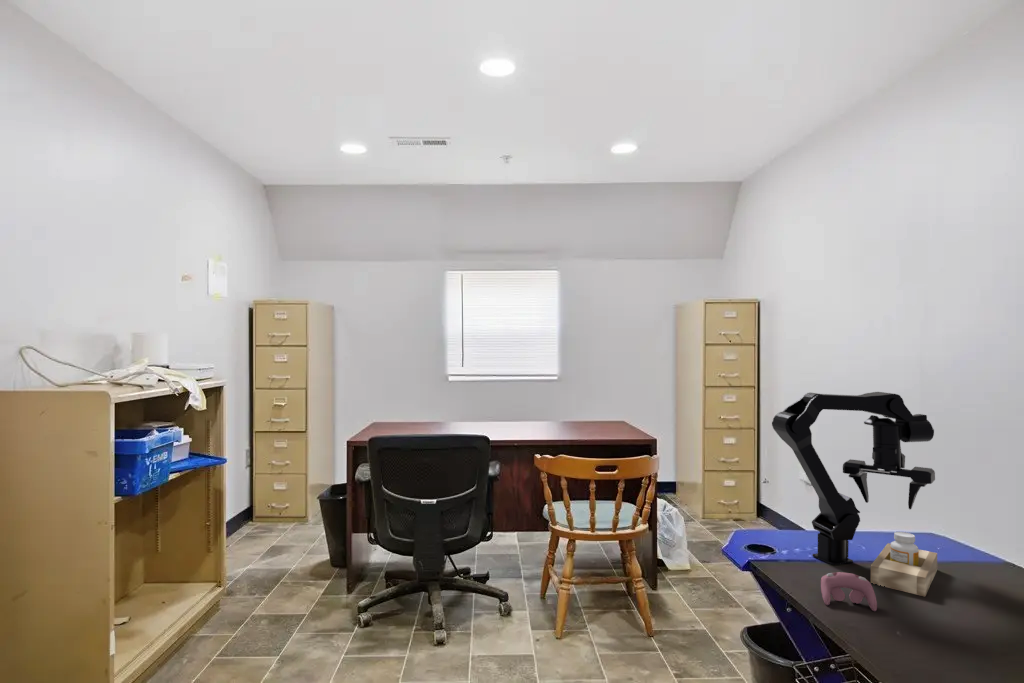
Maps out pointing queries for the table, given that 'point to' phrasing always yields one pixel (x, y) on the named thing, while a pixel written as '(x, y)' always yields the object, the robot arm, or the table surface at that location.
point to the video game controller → (847, 580)
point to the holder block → (904, 572)
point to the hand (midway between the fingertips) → (888, 505)
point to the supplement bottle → (904, 549)
